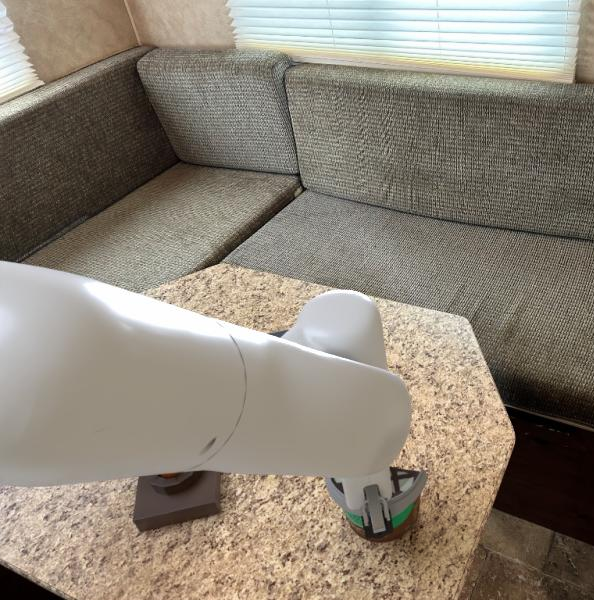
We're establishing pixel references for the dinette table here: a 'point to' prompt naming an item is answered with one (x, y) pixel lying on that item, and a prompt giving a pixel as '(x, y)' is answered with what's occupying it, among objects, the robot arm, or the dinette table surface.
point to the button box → (176, 498)
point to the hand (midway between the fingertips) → (372, 501)
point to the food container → (400, 504)
